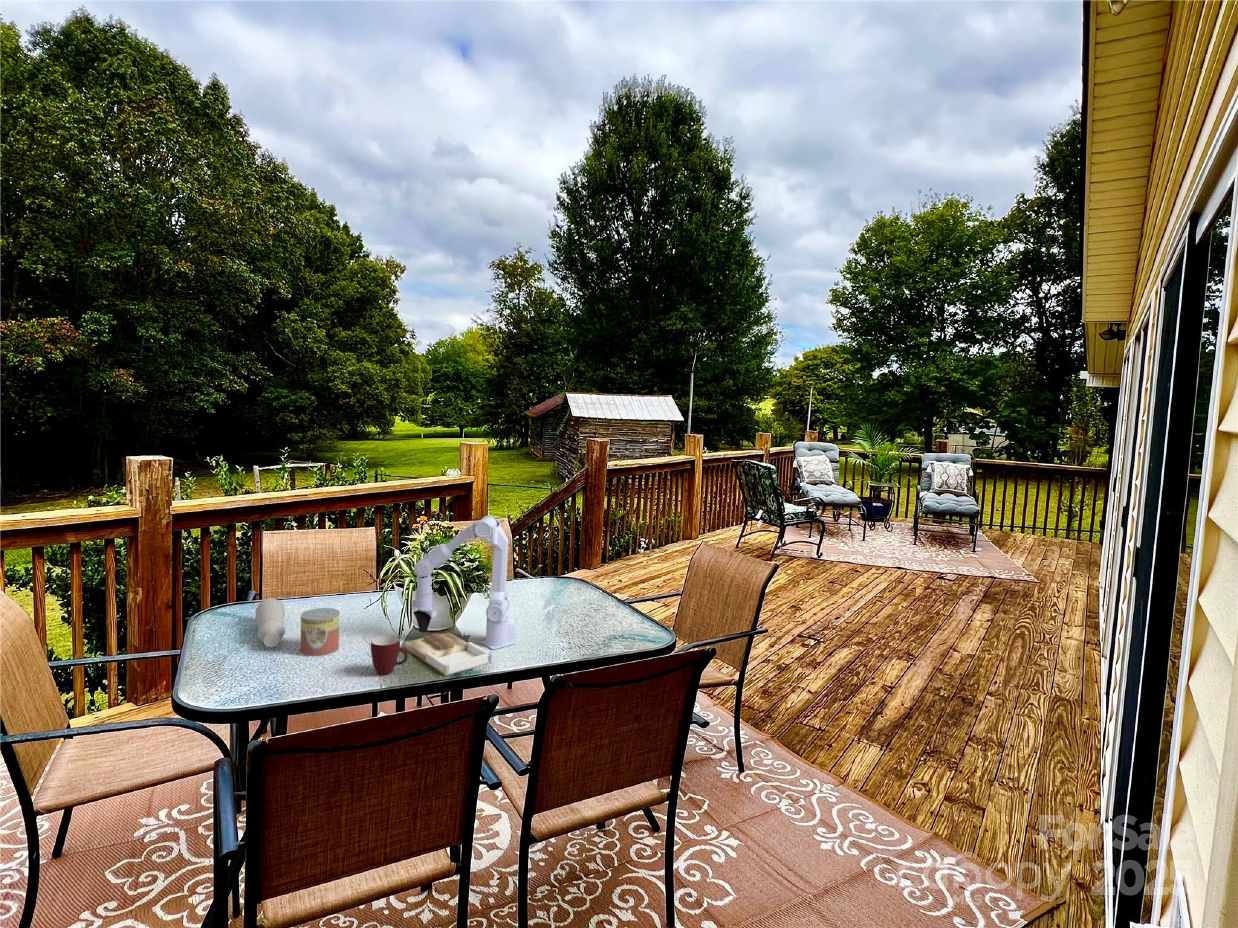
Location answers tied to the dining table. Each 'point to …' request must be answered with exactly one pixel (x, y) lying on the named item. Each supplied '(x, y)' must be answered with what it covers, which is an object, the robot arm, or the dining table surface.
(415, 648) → the board
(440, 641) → the tile
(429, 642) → the tile
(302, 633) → the canned food
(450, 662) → the tray
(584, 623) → the dining table surface
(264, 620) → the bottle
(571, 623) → the dining table surface
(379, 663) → the mug
